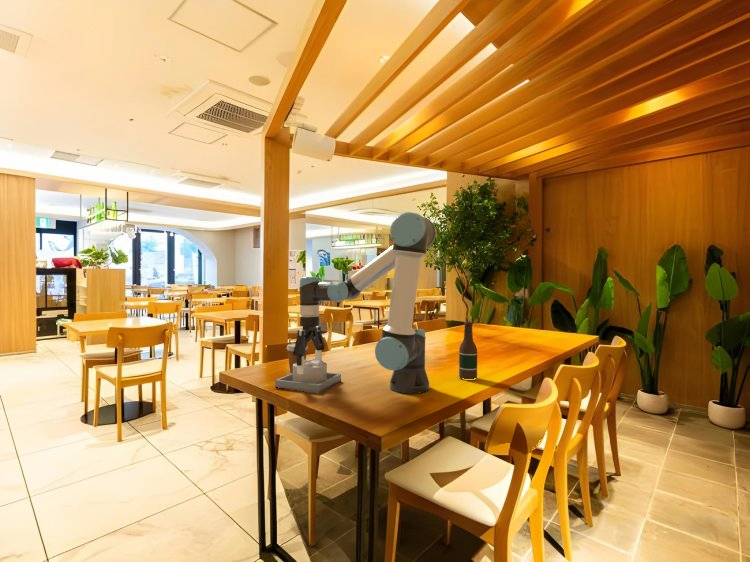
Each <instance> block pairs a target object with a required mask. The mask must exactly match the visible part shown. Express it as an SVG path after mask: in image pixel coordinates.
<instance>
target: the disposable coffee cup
mask: <svg viewBox="0 0 750 562" xmlns="http://www.w3.org/2000/svg"><path fill="white" fill-rule="evenodd" d="M295 343H296V342H294V343H289V344H287V346H286V350H287V357H288V366H289V372H290V373H293V364H295V363H296V362H297V357H295V356H293V351H294V347H295ZM308 348H309V346H308V345H307V346H306V349H305V351H304V354H303V357H304V360H307V352H308ZM300 354H301V353H300Z"/></svg>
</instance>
